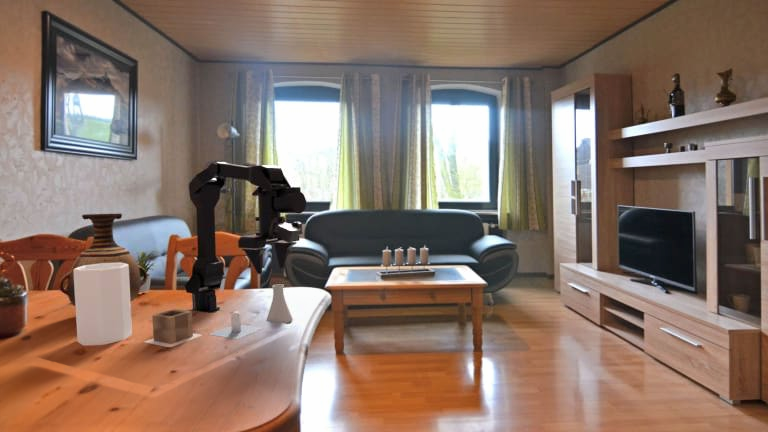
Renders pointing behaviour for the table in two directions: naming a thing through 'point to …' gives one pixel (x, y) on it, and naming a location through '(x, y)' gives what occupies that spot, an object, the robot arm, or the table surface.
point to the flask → (279, 306)
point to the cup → (102, 303)
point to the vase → (105, 255)
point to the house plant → (143, 264)
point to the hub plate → (233, 335)
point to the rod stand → (173, 343)
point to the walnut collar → (172, 326)
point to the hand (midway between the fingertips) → (271, 270)
